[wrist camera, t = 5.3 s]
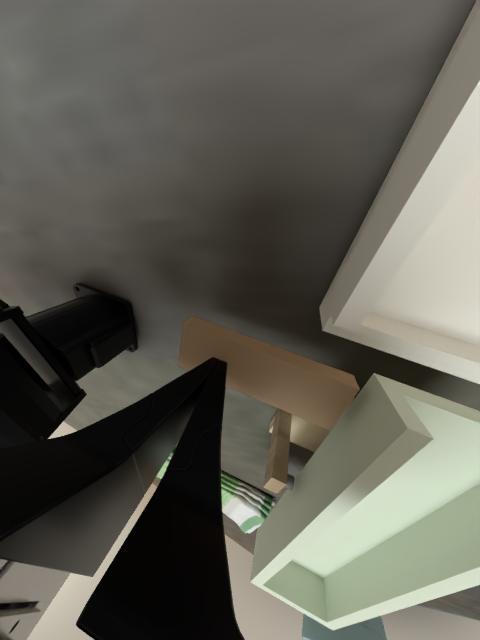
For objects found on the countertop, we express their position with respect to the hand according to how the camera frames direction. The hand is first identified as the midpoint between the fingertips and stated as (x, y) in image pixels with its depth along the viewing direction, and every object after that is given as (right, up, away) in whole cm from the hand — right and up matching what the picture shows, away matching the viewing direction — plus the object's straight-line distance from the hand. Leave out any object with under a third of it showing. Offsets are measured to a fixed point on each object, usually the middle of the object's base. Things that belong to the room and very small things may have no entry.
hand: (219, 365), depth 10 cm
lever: (+4, -8, +4) cm, 10 cm away
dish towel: (-5, -28, +26) cm, 39 cm away
